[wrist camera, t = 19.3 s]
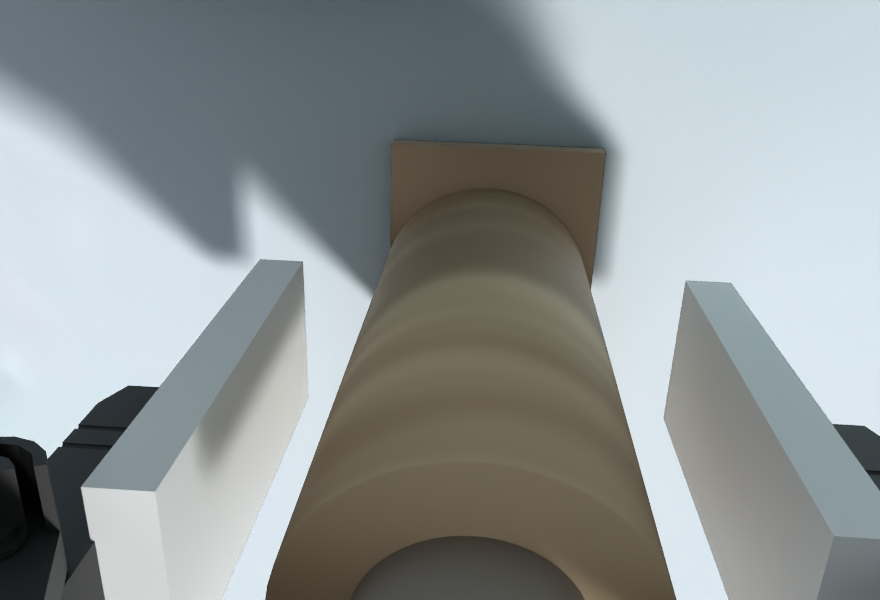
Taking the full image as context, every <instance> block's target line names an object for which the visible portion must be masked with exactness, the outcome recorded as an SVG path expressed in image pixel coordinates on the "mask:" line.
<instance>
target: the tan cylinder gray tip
mask: <svg viewBox="0 0 880 600" xmlns="http://www.w3.org/2000/svg"><path fill="white" fill-rule="evenodd" d="M265 600H676V597H675V593H674V590H673V586H672V582H671V579H670V575H669V571H668V568H667V564H666V561H665V557H664V553H663V550H662V546H661V543H660V539H659V535H658V532H657V528H656V525H655V521H654V517H653V514H652V510H651V506H650V503H649V499H648V496H647V492H646V488H645V485H644V481H643V478H642V474H641V470H640V467H639V463H638V460H637V456H636V452H635V449H634V445H633V441H632V438H631V434H630V431H629V427H628V423H627V420H626V416H625V413H624V409H623V405H622V402H621V398H620V395H619V391H618V387H617V384H616V380H615V377H614V373H613V369H612V366H611V362H610V358H609V355H608V351H607V348H606V344H605V340H604V337H603V333H602V330H601V326H600V322H599V319H598V315H597V312H596V308H595V304H594V301H593V297H592V293H591V290H590V286H589V283H588V279H587V275H586V272H585V268H584V265H583V261H582V258H581V254H580V251H579V249H578V247H577V245H576V242H575V240H574V238H573V237H572V235H571V234H570V232H569V231H568V229H567V228H566V227H565V225H564V224H563V223H562V222H561V221H560V220H559V218H557V217H556V216H555V215H554V214H553V213H552V212H551V211H549V210H548V209H547V208H545V207H544V206H542V205H541V204H539V203H538V202H536V201H534V200H532V199H530V198H528V197H526V196H523V195H520V194H517V193H514V192H510V191H505V190H500V189H489V188H480V189H468V190H463V191H458V192H455V193H452V194H449V195H445V196H443V197H441V198H439V199H437V200H435V201H433V202H431V203H430V204H428V205H426V206H425V207H423V208H422V209H421V210H419V211H418V212H417V213H416V214H415V215H414V216H412V217H411V219H410V220H409V221H408V222H407V223H406V224H405V225H404V226H403V228H402V229H401V231H400V232H399V234H398V235H397V237H396V239H395V241H394V243H393V245H392V247H391V249H390V252H389V255H388V257H387V260H386V263H385V265H384V268H383V271H382V273H381V276H380V279H379V282H378V284H377V287H376V290H375V292H374V295H373V298H372V300H371V303H370V306H369V309H368V311H367V314H366V317H365V319H364V322H363V325H362V328H361V330H360V333H359V336H358V338H357V341H356V344H355V346H354V349H353V352H352V355H351V357H350V360H349V363H348V365H347V368H346V371H345V374H344V376H343V379H342V382H341V384H340V387H339V390H338V392H337V395H336V398H335V401H334V403H333V406H332V409H331V411H330V414H329V417H328V420H327V422H326V425H325V428H324V430H323V433H322V436H321V438H320V441H319V444H318V447H317V449H316V452H315V455H314V457H313V460H312V463H311V466H310V468H309V471H308V474H307V476H306V479H305V482H304V484H303V487H302V490H301V493H300V495H299V498H298V501H297V503H296V506H295V509H294V512H293V514H292V517H291V520H290V522H289V525H288V528H287V530H286V533H285V536H284V539H283V541H282V544H281V547H280V549H279V552H278V555H277V558H276V560H275V563H274V566H273V569H272V572H271V575H270V579H269V582H268V585H267V592H266V599H265Z"/></svg>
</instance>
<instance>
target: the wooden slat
mask: <svg viewBox="0 0 880 600" xmlns="http://www.w3.org/2000/svg"><path fill="white" fill-rule="evenodd" d="M605 157H606V152H605V151H604V149H603V148H581V147H558V146H534V145H510V144H486V143H463V142H439V141H415V140H393V141H392V143H391V247H392V245H393V243H394V241H395V239H396V237H397V235H398V234H399V232H400V231H401V229H402V228H403V226H404V225H405V224H406V223H407V222H408V221H409V220H410V219H411V217H412V216H414V215H415V214H416V213H417V212H418V211H419V210H421V209H422V208H423V207H425V206H426V205H428V204H430V203H431V202H433V201H435V200H437V199H439V198H441V197H443V196H445V195H449V194H452V193H455V192H458V191H463V190H468V189H480V188H489V189H500V190H505V191H510V192H514V193H517V194H520V195H523V196H526V197H528V198H530V199H532V200H534V201H536V202H538V203H539V204H541V205H542V206H544V207H545V208H547V209H548V210H549V211H551V212H552V213H553V214H554V215H555V216H556V217H557V218H559V220H560V221H561V222H562V223H563V224H564V225H565V227H566V228H567V229H568V231H569V232H570V234H571V235H572V237H573V238H574V240H575V242H576V245H577V247H578V249H579V251H580V254H581V258H582V261H583V265H584V268H585V272H586V275H587V279H588V283H589V286H590V290H591V284H592V275H593V266H594V256H595V247H596V238H597V229H598V220H599V211H600V202H601V193H602V184H603V175H604V166H605Z"/></svg>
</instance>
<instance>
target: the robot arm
mask: <svg viewBox="0 0 880 600" xmlns="http://www.w3.org/2000/svg"><path fill="white" fill-rule="evenodd" d="M308 398H309V395H308V371H307V348H306V324H305V301H304V277H303V261H283V260H263V259H260V260H259V261H258V263H257V264H256V265H255V266H254V268H253V269H252V270H251V271H250V273H249V274H248V275H247V277H246V278H245V279H244V280H243V282H242V283H241V284H240V285H239V287H238V288H237V289H236V291H235V292H234V293H233V294H232V296H231V297H230V298H229V299H228V301H227V302H226V303H225V305H224V306H223V307H222V308H221V310H220V311H219V312H218V313H217V315H216V316H215V317H214V318H213V320H212V321H211V322H210V324H209V325H208V326H207V327H206V329H205V330H204V331H203V332H202V334H201V335H200V336H199V338H198V339H197V340H196V341H195V343H194V344H193V345H192V346H191V348H190V349H189V350H188V352H187V353H186V354H185V355H184V357H183V358H182V359H181V360H180V362H179V363H178V364H177V365H176V367H175V368H174V369H173V371H172V372H171V373H170V374H169V376H168V377H167V378H166V379H165V381H164V382H163V383H162V385H161V386H160V387H144V386H127V387H125V388H123V389H122V390H120V391H118V392H116V393H115V394H113V395H111V396H110V397H108V398H106V399H104V400H103V401H101V402H99V403H98V404H97V405H96V406H95V407H94V408H93V409H92V410H91V411H90V413H89V414H88V415H87V416H86V417H85V418H84V419H83V420H82V421H81V423H80V424H79V427H78V429H74V430H73V431H72V433H71V434H70V435H69V436H68V437H67V438H66V439H65V440H64V442H63V445H62V447H58V448H57V449H56V450H55V452H54V453H53V454H52V455H51V456H50V457H49V458H48V459H47V455H46V451H45V450H44V449H42V448H41V447H40V446H39V445H38V444H36V443H35V442H34V441H30V440H26V439H22V438H18V437H0V600H222V598H223V595H224V593H225V591H226V588H227V586H228V584H229V581H230V579H231V577H232V574H233V572H234V570H235V567H236V565H237V563H238V560H239V558H240V556H241V553H242V551H243V549H244V547H245V544H246V542H247V540H248V537H249V535H250V533H251V530H252V528H253V526H254V523H255V521H256V519H257V516H258V514H259V512H260V509H261V507H262V505H263V502H264V500H265V498H266V495H267V493H268V491H269V488H270V486H271V484H272V481H273V479H274V477H275V474H276V472H277V470H278V467H279V465H280V463H281V460H282V458H283V456H284V453H285V451H286V449H287V446H288V444H289V442H290V440H291V437H292V435H293V433H294V430H295V428H296V426H297V423H298V421H299V419H300V416H301V414H302V412H303V409H304V407H305V405H306V402H307V400H308ZM664 421H665V424H666V426H667V429H668V432H669V435H670V437H671V440H672V443H673V446H674V449H675V451H676V454H677V457H678V460H679V462H680V465H681V468H682V471H683V474H684V476H685V479H686V482H687V485H688V487H689V490H690V493H691V496H692V499H693V501H694V504H695V507H696V510H697V512H698V515H699V518H700V521H701V524H702V526H703V529H704V532H705V535H706V537H707V540H708V543H709V546H710V549H711V551H712V554H713V557H714V560H715V562H716V565H717V568H718V571H719V574H720V576H721V579H722V582H723V585H724V587H725V590H726V593H727V596H728V599H729V600H880V436H878V435H877V434H875V433H874V432H873V431H871V430H870V429H868V428H867V427H865V426H856V425H839V424H832V423H831V422H830V421H829V419H828V418H827V416H826V415H825V414H824V412H823V411H822V409H821V408H820V407H819V405H818V404H817V403H816V401H815V400H814V398H813V397H812V396H811V394H810V393H809V391H808V390H807V389H806V387H805V386H804V384H803V383H802V382H801V380H800V379H799V377H798V376H797V375H796V373H795V372H794V370H793V369H792V368H791V366H790V365H789V363H788V362H787V361H786V359H785V358H784V356H783V355H782V354H781V352H780V351H779V349H778V348H777V347H776V345H775V344H774V342H773V341H772V340H771V338H770V337H769V335H768V334H767V333H766V331H765V330H764V329H763V327H762V326H761V324H760V323H759V322H758V320H757V319H756V317H755V316H754V315H753V313H752V312H751V310H750V309H749V308H748V306H747V305H746V303H745V302H744V301H743V299H742V298H741V296H740V295H739V294H738V292H737V291H736V289H735V288H734V287H733V285H732V284H731V283H723V282H703V281H686V282H685V288H684V294H683V301H682V307H681V313H680V319H679V325H678V332H677V338H676V344H675V350H674V357H673V363H672V369H671V375H670V381H669V388H668V394H667V400H666V406H665V412H664Z"/></svg>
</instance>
